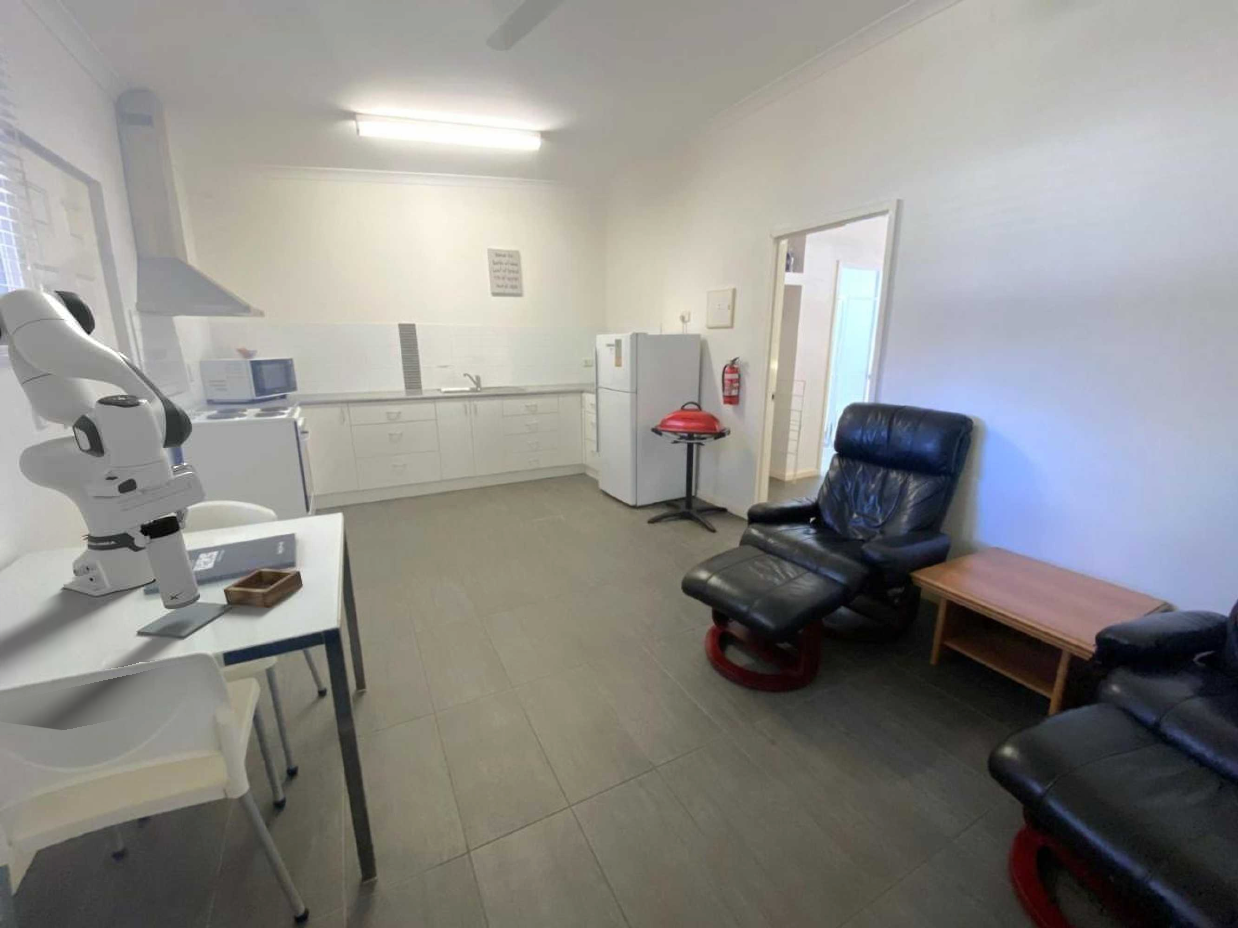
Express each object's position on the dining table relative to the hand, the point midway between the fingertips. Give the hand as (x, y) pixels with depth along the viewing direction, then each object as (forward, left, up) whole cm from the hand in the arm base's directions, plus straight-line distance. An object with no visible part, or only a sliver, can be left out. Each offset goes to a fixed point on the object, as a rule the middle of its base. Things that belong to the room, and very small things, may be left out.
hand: (162, 536), depth 109 cm
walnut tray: (+9, +12, -20) cm, 25 cm away
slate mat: (0, 0, -20) cm, 20 cm away
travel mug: (0, 0, -16) cm, 16 cm away
